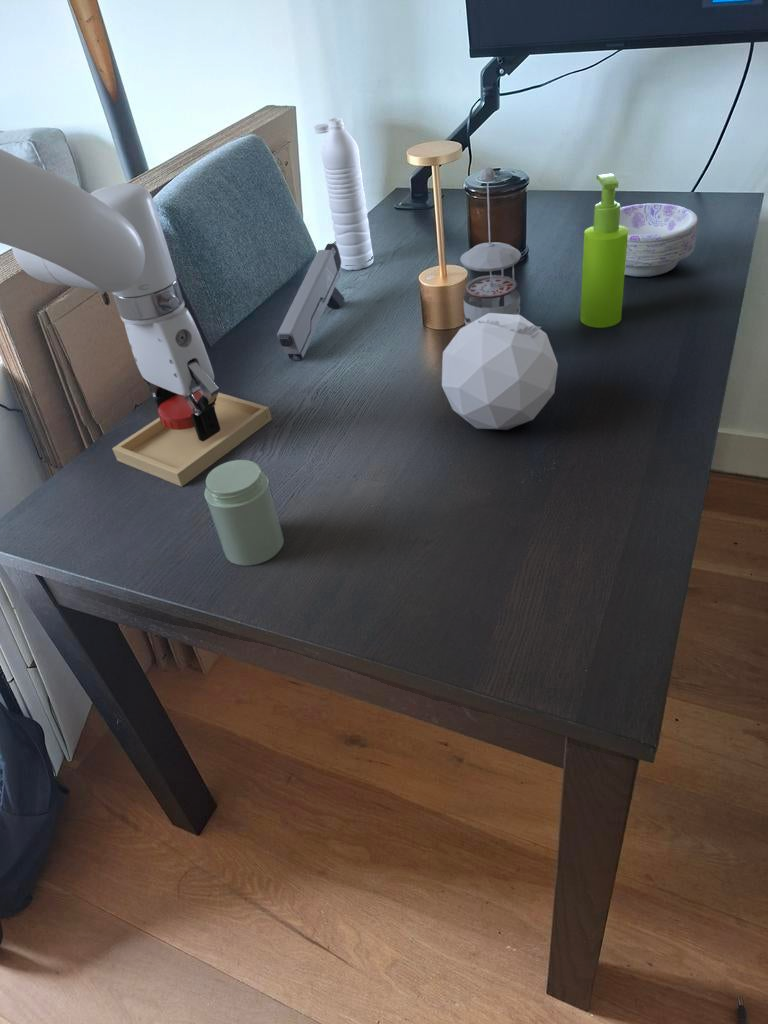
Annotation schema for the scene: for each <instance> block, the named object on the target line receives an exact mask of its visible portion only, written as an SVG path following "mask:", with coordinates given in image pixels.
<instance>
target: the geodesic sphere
mask: <svg viewBox="0 0 768 1024" xmlns="http://www.w3.org/2000/svg"><path fill="white" fill-rule="evenodd" d="M541 328H542V326H539V325H535V324H534V323H532V322H531V321H529V320H528V319H527V318H525V317H524V316H523V315H521V314H520V315H511V314H498V313H488V314H486V315H484V316H482V317H481V318H479V319H477V320H475V321H473V322H472V323H470V324H468V325H466V326H465V325H464V326H462V327H461V328H459V330H458V331H457V333H456V334H455V335H454V337H452V339H451V340H450V342H449V343H448V344H447V346H446V347H445V349H444V350H443V351H442V364H441V366H442V367H441V387H442V389H443V392H444V394H445V396H446V398H447V400H448V403H449V405H450V407H451V409H452V411H453V412H455V413H456V414H457V415H458V416H460V417H461V418H462V419H464V420H465V421H466V422H468V424H470V425H471V426H473V427H474V428H475V429H478V430H502V431H508V430H511V429H514V428H516V427H518V426H520V425H523V424H526V423H528V422H531V421H533V420H535V418H537V415H538V414H539V413H540V412H541V410H542V409H543V408H544V407H545V405H546V404H547V403H548V402H549V401H550V399H551V398H552V396H553V395H555V391H556V382H557V375H558V368H559V363H558V361H557V358H556V355H555V352H554V350H553V347H552V345H551V341H550V339H549V336H548V334H547V333H546V332H545V331H543V330H542V329H541Z"/></svg>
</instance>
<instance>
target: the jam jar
mask: <svg viewBox="0 0 768 1024" xmlns="http://www.w3.org/2000/svg"><path fill="white" fill-rule="evenodd" d="M205 486H206V487H205V489H204V495H203V496H204V498H205V501H206V504H207V508H208V510H209V513H210V516H211V519H212V522H213V526H214V528H215V531H216V533H217V537H218V540H219V542H220V546H221V549H222V551H223V552H222V553H223V554H224V557H225V559H227V561H229V562H230V563H232V564H234V565H238V566H245V567H250V566H256V565H259V564H263V563H265V562H268V561H269V560H271V559H273V558H274V557H275V556H276V555H277V554H278V553H279V552H280V551H281V549H283V546H284V542H285V538H284V537H285V536H284V533H283V530H282V529H283V528H282V526H281V521H280V519H279V515H278V511H277V507H276V504H275V499H274V496H273V491H272V488H271V486H270V481H269V478H268V476H267V474H266V473H264V472H263V470H262V468H261V466H260V465H259V464H257V463H256V462H255V461H252V460H248V459H234V460H229V461H227V462H224V463H221V464H219V465H218V466H215V467H214V468H213V469H212V470H211V471H209V473H208V474H207V476H206V477H205Z"/></svg>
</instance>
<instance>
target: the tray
mask: <svg viewBox="0 0 768 1024" xmlns="http://www.w3.org/2000/svg"><path fill="white" fill-rule="evenodd" d="M199 392H200V391H199ZM214 407H215V412H216V416H217V419H218V422H219V425H220V431H219V432H218V433H216V434H215V435H213V436H211V437H210V438H208V439H207V440H205V441H200V440H199V439H198V436H197V433H196V429H195V427H193V428H189V429H183V430H173V429H169V428H166V427H165V426H164V425H163V424H162V423H161V420H160V418H159V417H158V418H156V419H154V420H153V421H152V422H150V423H148V424H147V425H145V426H144V427H142V428H141V429H139V430H138V431H136V432H135V433H133V434H131V435H130V436H128V437H127V438H125V439H124V440H122V441H121V442H119V443H117V445H115V446H113V447H112V449H111V450H112V452H113V454H114V456H115V459H116V461H117V462H119V463H122V464H124V465H127V466H129V467H132V468H134V469H137V470H140V471H141V472H144V473H146V474H149V475H152V476H154V477H156V478H159V479H162V480H164V481H165V482H169V483H171V484H174V485H176V486H178V487H181V488H182V487H184V486H185V485H187V484H188V483H190V482H191V481H192V480H193V479H194V478H196V477H198V476H199V475H200V474H201V473H203V472H204V471H205V470H207V469H208V468H209V467H211V466H212V465H214V463H216V462H218V461H219V460H220V459H222V458H223V457H224V456H225V455H227V454H228V453H229V452H231V451H232V450H233V449H234V448H236V447H237V446H239V445H240V444H241V443H243V442H244V441H245V440H247V439H248V438H250V437H251V436H252V435H253V434H255V433H256V432H258V431H259V430H260V429H262V428H263V427H265V426H266V425H267V424H268V423H269V422H271V421H273V420H272V415H271V412H270V407H268V406H266V405H263V404H259V403H256V402H252V401H249V400H246V399H241V398H239V397H235V396H233V395H229V394H226V393H223V392H219V393H218V395H217V397H216V401H215V406H214Z"/></svg>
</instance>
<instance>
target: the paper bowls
mask: <svg viewBox="0 0 768 1024" xmlns="http://www.w3.org/2000/svg"><path fill="white" fill-rule="evenodd" d="M698 224H699V218H698V216H697V214H696V213H695V212H693V211H692V210H691V209H689V208H686V207H684V206H681V205H676V204H669V203H638V204H630V205H625V206H621V207H620V219H619V225H621V226H624V227H626V228H627V229H628V239H627V251H626V264H625V276H628V277H635V278H648V277H655V276H660V275H663V274H666V273H668V272H669V271H672V270H673V269H674V268H675V267H676V266H677V265H678V263H679V262H680V261H681V260H684V259H685V258H687V257H688V256H691V254H692V253H694V251H695V247H696V241H697V234H698V226H699V225H698Z"/></svg>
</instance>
